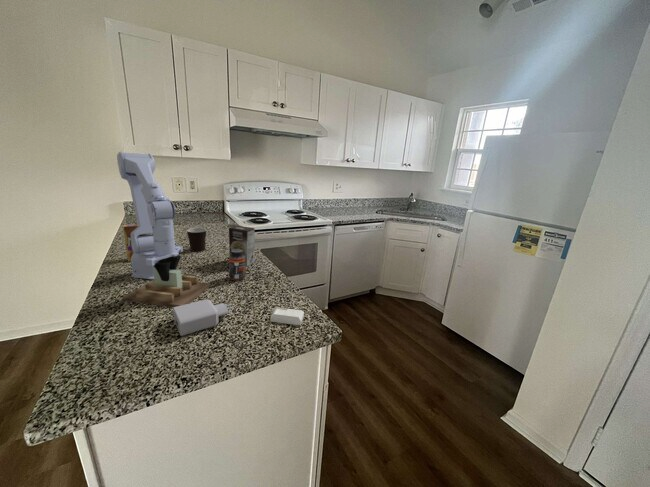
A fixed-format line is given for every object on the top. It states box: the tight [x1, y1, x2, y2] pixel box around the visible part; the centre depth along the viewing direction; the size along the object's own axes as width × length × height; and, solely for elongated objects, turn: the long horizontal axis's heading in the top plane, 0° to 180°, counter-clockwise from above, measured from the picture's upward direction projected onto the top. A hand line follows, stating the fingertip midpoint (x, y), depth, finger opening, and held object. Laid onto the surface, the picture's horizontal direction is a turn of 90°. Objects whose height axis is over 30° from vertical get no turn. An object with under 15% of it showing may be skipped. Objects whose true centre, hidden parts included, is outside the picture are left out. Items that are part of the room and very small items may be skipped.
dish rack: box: [121, 274, 212, 308], centre depth 90 cm, size 20×16×4 cm
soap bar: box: [269, 307, 305, 326], centre depth 80 cm, size 5×9×3 cm, turn 83°
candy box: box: [122, 223, 151, 262], centre depth 114 cm, size 9×4×15 cm, turn 126°
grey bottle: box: [172, 299, 234, 337], centre depth 76 cm, size 5×9×15 cm
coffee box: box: [228, 225, 256, 267], centre depth 118 cm, size 9×6×16 cm
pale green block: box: [153, 269, 183, 290], centre depth 89 cm, size 8×2×7 cm, turn 83°
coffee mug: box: [186, 227, 207, 253], centre depth 132 cm, size 12×9×10 cm
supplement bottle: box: [228, 249, 246, 282], centre depth 103 cm, size 6×6×11 cm
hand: (168, 278), depth 89 cm, fingers closed on pale green block, 2 cm apart
